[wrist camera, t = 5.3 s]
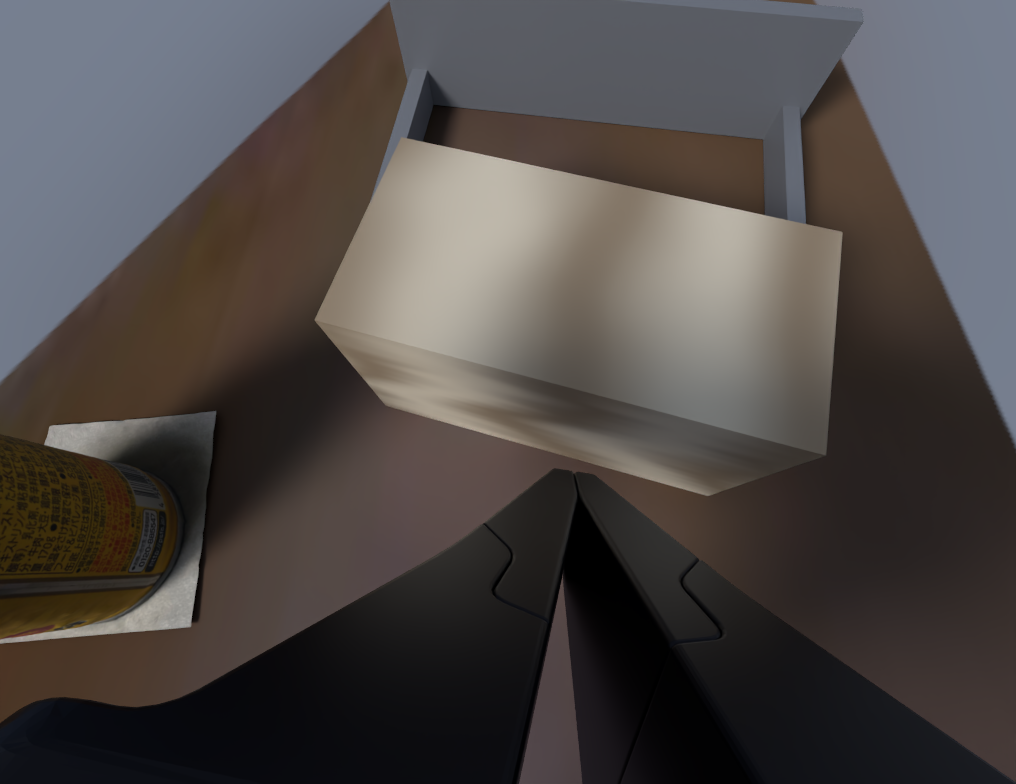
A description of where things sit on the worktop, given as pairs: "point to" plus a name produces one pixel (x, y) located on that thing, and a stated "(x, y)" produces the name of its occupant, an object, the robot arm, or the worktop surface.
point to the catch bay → (630, 68)
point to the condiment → (103, 527)
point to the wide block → (591, 318)
